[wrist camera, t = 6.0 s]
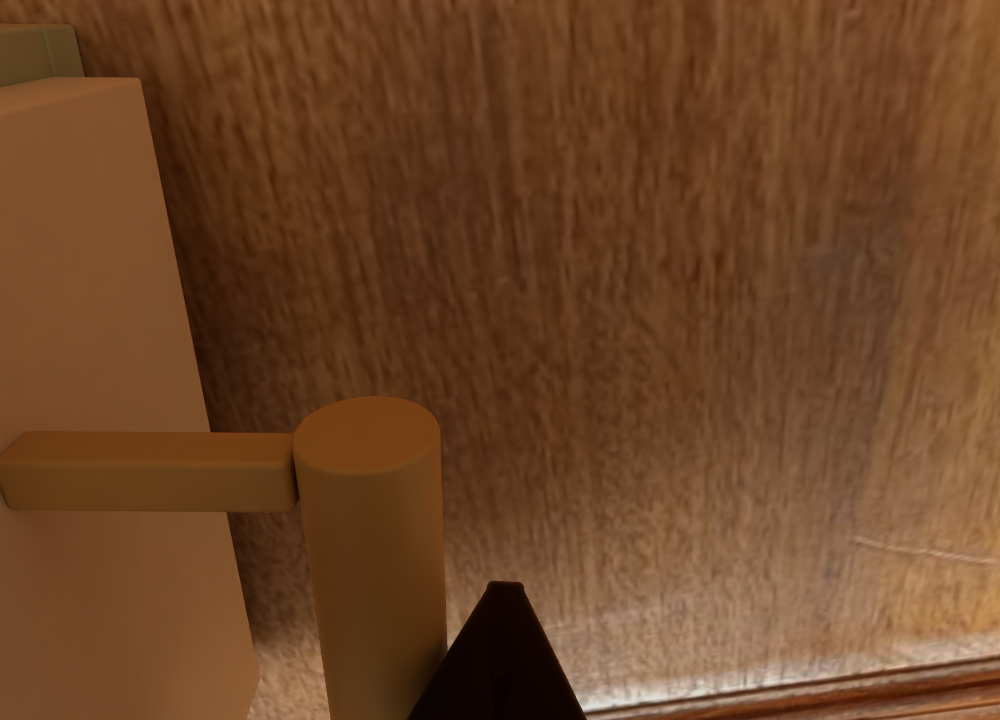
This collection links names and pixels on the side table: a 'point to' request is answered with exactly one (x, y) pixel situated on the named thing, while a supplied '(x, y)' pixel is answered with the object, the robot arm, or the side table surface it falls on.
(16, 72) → the cabinet
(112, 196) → the drawer
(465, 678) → the robot arm
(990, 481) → the side table surface
